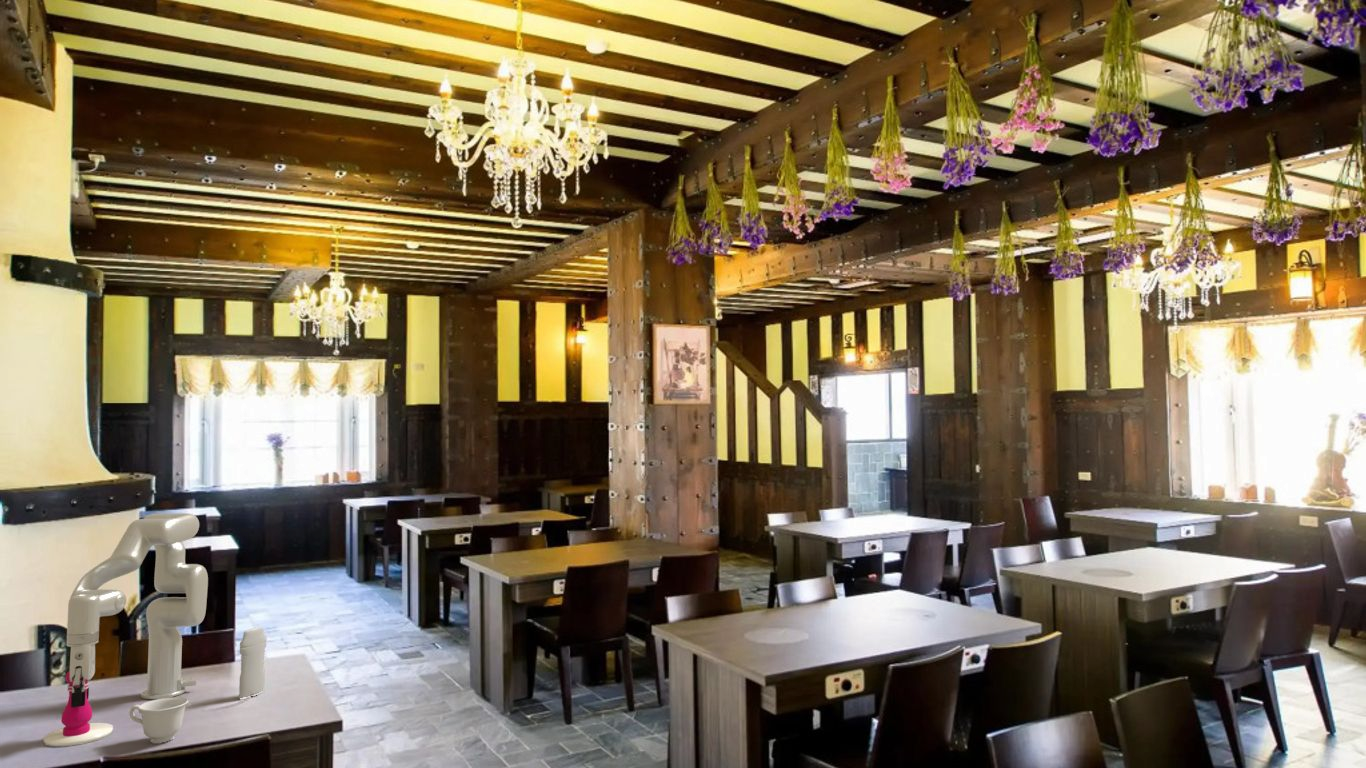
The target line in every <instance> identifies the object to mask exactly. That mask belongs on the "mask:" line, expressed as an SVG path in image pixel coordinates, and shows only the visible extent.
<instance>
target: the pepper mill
mask: <svg viewBox="0 0 1366 768" xmlns="http://www.w3.org/2000/svg"><path fill="white" fill-rule="evenodd" d="M73 677H74V676H73ZM73 677H72V679H73ZM80 680H83V678H80ZM65 681H66V683H67V684H68V685H67V691H68V700H67V703H66V705H65V707H64V709H63V711H62V715H61V718H60V720H61V721H60V722H61V724H62V725H64V727H63V735H64V736H77V735H81V734H84V733H87V732H89V730H90V724H89V723H90V720H91V719H92V718H93V710H92V709H93V708H92V707H91V705H90V703H89V698H88V699H87V688H89V689H90V686H89V685H90V682H89V683H88V681H90V680H87V679H85V690H84V691H86V695H85V705H84V706H80V707H71V694H72V687H73V682H71V681H70V669H69V670H68V671H67V673H66V675H65ZM80 684H82V683H80Z"/></svg>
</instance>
